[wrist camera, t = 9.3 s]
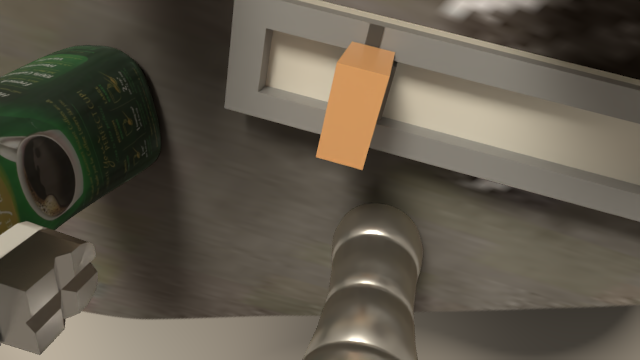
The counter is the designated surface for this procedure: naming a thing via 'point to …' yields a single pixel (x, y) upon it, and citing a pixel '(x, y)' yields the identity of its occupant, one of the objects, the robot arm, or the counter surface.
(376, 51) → the fader knob
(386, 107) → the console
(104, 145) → the coffee jar
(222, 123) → the counter surface
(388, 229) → the silver ridged bottle
